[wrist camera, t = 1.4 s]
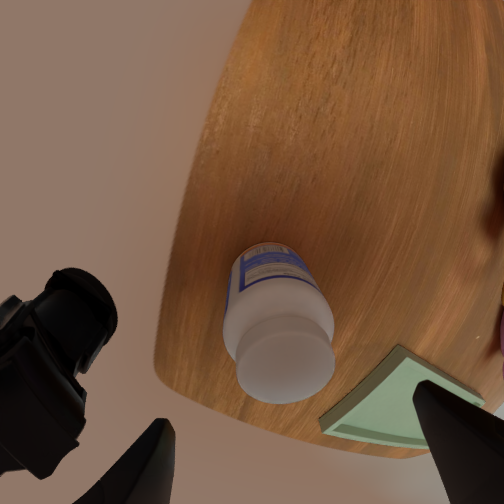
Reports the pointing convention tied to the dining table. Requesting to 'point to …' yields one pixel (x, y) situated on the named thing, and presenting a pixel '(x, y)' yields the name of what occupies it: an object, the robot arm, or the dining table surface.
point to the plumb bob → (503, 295)
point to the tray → (390, 403)
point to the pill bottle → (277, 326)
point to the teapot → (502, 338)
